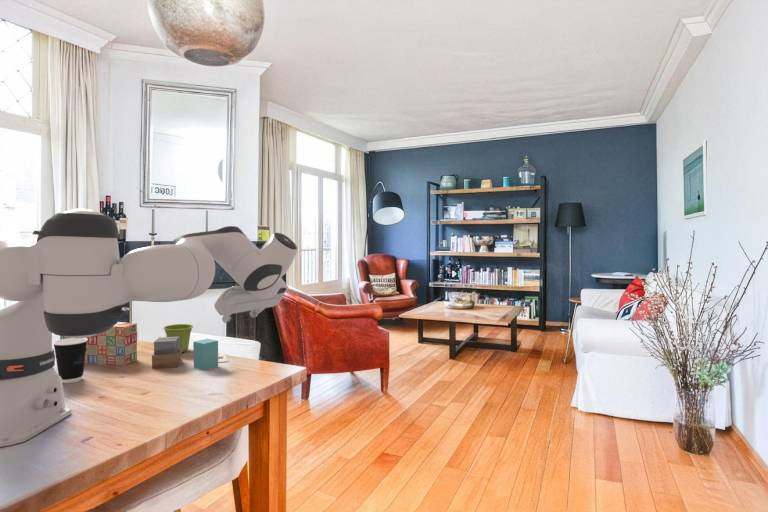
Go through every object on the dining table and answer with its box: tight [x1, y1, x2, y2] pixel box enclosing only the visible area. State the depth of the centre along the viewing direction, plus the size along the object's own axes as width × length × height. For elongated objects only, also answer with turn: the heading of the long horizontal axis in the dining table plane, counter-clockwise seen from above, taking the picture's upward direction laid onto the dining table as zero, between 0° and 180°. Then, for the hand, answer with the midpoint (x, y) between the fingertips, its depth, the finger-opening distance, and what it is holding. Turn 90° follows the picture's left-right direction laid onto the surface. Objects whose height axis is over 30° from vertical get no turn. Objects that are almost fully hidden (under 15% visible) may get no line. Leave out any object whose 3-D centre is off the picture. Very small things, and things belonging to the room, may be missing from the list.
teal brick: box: [192, 338, 219, 371], centre depth 137 cm, size 5×5×8 cm
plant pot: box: [163, 323, 194, 353], centre depth 156 cm, size 9×9×9 cm
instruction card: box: [218, 353, 228, 364], centre depth 147 cm, size 10×8×1 cm
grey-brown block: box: [151, 336, 183, 369], centre depth 139 cm, size 7×7×8 cm
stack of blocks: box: [59, 321, 138, 366], centre depth 142 cm, size 21×6×12 cm, turn 85°
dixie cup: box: [52, 338, 88, 384], centre depth 124 cm, size 8×8×11 cm
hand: (239, 318), depth 129 cm, fingers open, 8 cm apart
